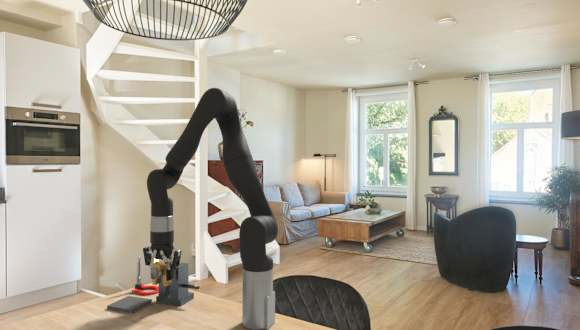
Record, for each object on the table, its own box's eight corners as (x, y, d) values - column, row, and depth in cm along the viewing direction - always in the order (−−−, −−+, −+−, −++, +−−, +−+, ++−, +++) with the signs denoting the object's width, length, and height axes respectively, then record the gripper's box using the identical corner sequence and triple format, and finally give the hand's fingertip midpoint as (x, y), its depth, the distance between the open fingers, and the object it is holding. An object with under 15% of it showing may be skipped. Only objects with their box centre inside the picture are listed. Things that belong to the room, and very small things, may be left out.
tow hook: (164, 290, 156) (142, 287, 157) (165, 256, 155) (143, 254, 157) (152, 297, 147) (129, 294, 149) (154, 262, 147) (131, 259, 149)
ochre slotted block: (171, 283, 137) (171, 262, 137) (166, 286, 134) (166, 265, 134) (158, 281, 139) (158, 261, 138) (152, 284, 136) (152, 263, 136)
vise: (206, 300, 144) (206, 259, 144) (179, 317, 129) (179, 271, 129) (170, 294, 149) (170, 255, 149) (140, 310, 134) (140, 266, 134)
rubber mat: (151, 302, 141) (151, 299, 141) (131, 313, 131) (131, 309, 131) (128, 299, 144) (128, 295, 144) (107, 309, 135) (107, 305, 135)
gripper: (187, 228, 137) (186, 278, 137) (151, 225, 142) (151, 273, 142) (173, 232, 130) (173, 285, 130) (136, 229, 135) (136, 280, 135)
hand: (162, 279), depth 136 cm, fingers closed on ochre slotted block, 5 cm apart
